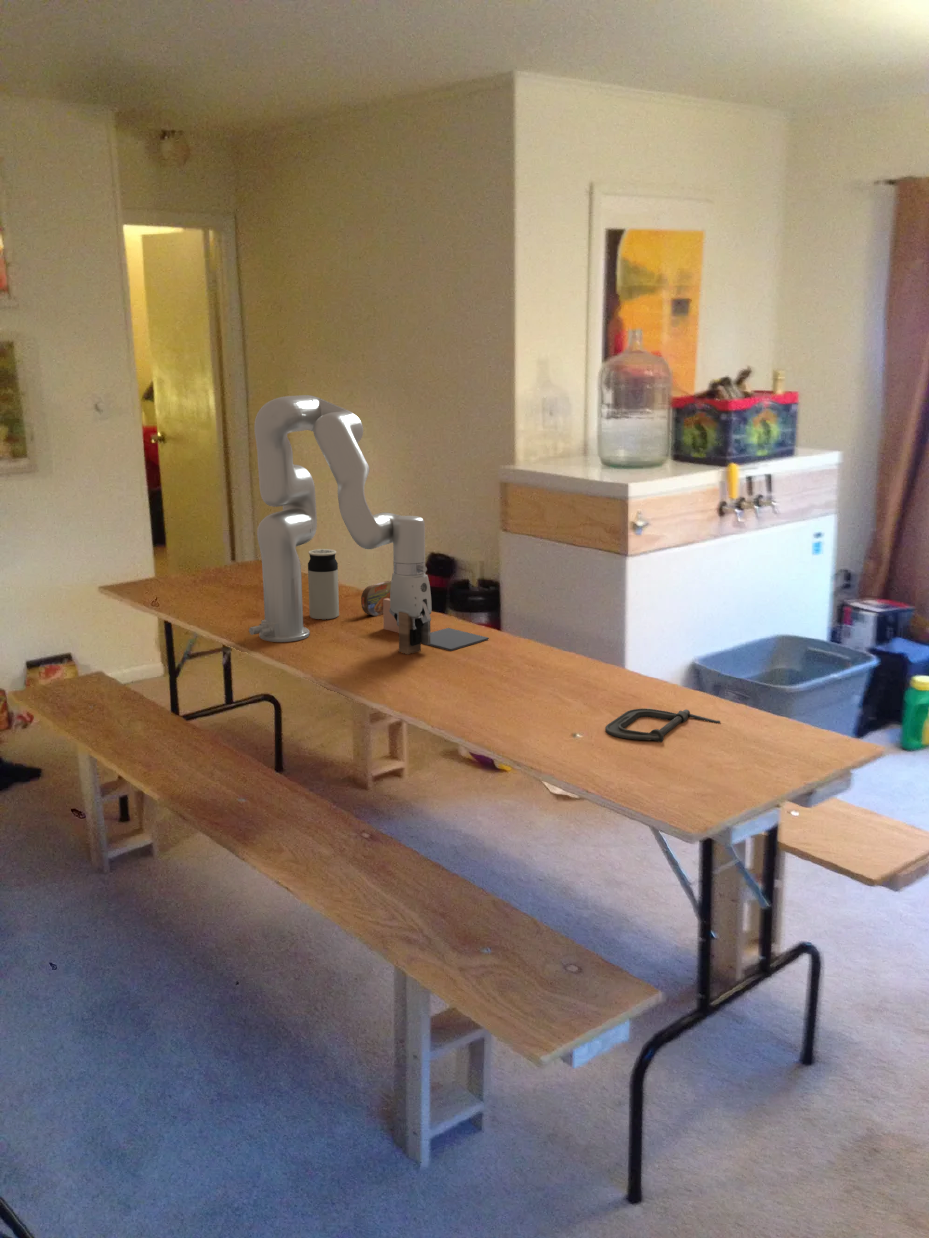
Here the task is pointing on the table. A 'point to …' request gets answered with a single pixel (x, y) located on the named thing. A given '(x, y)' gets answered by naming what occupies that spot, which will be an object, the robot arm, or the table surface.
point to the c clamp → (655, 735)
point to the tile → (389, 617)
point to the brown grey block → (405, 634)
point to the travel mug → (323, 584)
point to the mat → (454, 639)
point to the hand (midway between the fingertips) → (410, 642)
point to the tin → (375, 598)
